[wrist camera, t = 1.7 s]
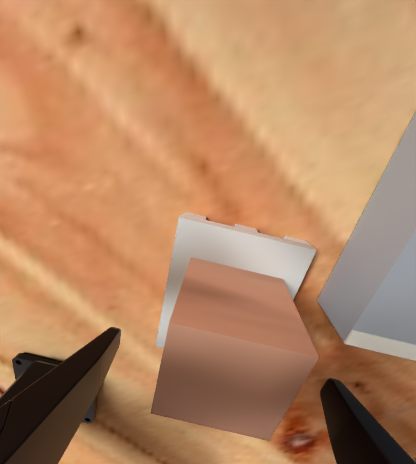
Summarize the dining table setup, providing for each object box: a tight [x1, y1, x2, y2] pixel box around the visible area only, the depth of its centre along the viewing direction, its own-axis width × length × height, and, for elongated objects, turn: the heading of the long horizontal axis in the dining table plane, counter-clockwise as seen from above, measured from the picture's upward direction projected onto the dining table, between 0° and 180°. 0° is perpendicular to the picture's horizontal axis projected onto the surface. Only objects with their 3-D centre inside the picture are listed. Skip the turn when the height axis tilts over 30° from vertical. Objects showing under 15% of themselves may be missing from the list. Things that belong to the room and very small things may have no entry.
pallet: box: [151, 212, 319, 441], centre depth 10 cm, size 9×7×6 cm
